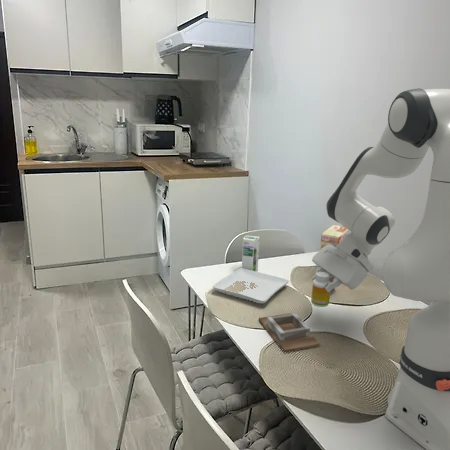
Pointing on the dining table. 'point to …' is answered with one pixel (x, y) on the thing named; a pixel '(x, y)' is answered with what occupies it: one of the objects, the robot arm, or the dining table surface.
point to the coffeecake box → (333, 235)
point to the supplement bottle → (320, 290)
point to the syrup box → (250, 253)
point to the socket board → (289, 332)
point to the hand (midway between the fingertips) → (319, 285)
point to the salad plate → (259, 294)
